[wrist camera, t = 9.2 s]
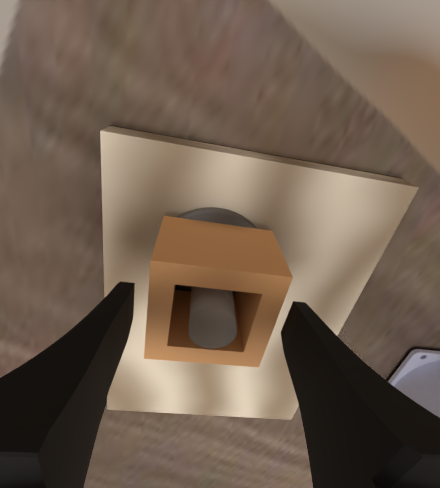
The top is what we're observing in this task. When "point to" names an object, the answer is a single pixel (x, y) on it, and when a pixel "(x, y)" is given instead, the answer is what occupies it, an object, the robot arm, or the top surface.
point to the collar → (216, 277)
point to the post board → (245, 215)
